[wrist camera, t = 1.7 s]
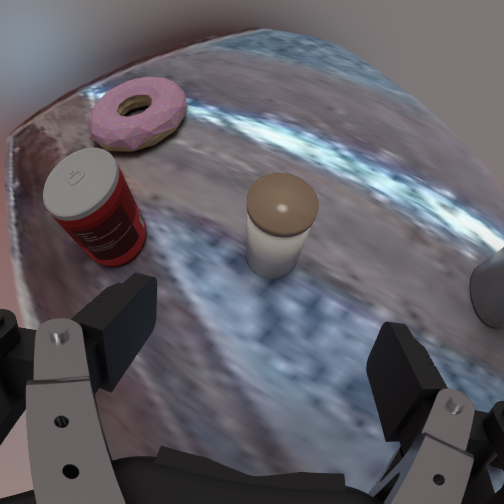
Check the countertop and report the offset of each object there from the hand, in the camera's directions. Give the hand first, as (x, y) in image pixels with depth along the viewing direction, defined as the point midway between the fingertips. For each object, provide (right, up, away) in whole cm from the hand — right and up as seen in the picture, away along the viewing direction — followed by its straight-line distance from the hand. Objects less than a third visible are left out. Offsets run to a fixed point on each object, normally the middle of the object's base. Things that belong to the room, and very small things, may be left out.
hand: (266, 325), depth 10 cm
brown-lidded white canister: (+2, +2, +22) cm, 23 cm away
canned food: (-16, +4, +23) cm, 28 cm away
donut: (-17, +22, +32) cm, 42 cm away
